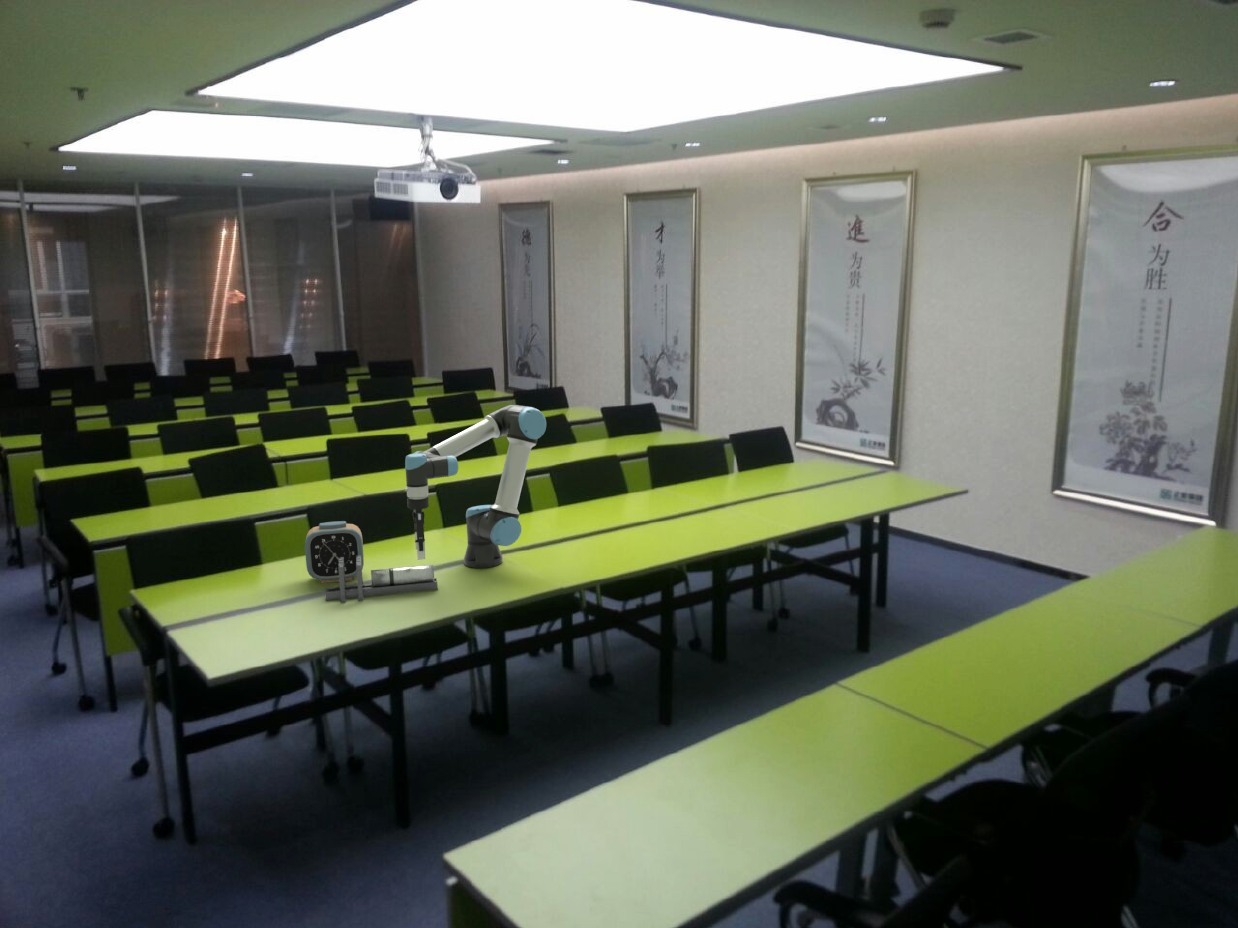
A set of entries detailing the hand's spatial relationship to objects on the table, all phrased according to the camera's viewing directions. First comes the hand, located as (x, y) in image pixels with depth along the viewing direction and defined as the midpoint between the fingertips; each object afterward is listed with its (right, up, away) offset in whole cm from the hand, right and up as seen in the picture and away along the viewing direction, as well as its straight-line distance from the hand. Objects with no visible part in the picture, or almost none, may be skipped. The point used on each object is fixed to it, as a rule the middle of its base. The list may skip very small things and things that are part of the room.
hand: (420, 554), depth 338 cm
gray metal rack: (-13, -14, -1) cm, 19 cm away
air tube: (-6, -11, 0) cm, 12 cm away
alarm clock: (-35, -11, +17) cm, 41 cm away
